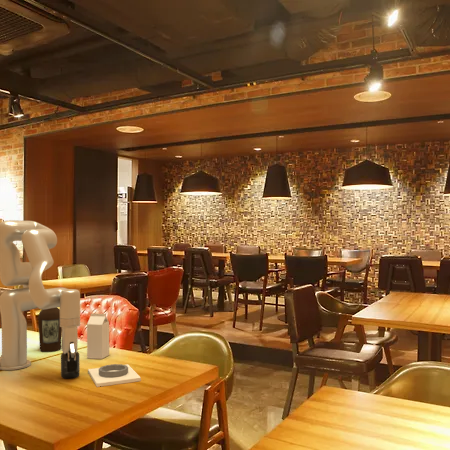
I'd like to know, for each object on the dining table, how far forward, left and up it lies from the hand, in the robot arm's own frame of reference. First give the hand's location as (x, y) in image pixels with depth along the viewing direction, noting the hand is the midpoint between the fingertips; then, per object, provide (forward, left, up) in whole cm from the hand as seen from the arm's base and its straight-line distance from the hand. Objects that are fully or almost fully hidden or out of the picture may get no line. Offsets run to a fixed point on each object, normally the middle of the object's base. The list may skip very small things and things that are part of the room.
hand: (70, 368), depth 188 cm
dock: (+15, -7, -3) cm, 17 cm away
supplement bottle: (0, 0, -3) cm, 3 cm away
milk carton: (+15, +25, -3) cm, 29 cm away
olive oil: (-3, +48, -3) cm, 48 cm away
